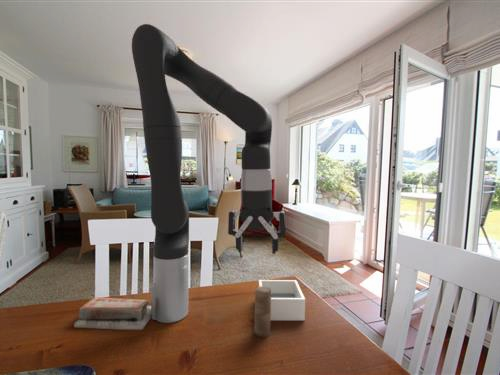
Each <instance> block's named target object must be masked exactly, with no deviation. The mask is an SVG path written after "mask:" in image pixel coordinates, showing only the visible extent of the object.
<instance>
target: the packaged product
mask: <svg viewBox="0 0 500 375" xmlns="http://www.w3.org/2000/svg"><path fill="white" fill-rule="evenodd" d="M149 302H150V301H149V300H147V299H132V298H109V297H94V298H91V299H90V300H89V301H88V302H86V303H85V304H84V305H83V306H81V307H80V308H79V311H78V314H79V316H78V319H77V320H75V322H74V325H73V326H74V328H79V329H80V328H82V329H83V328H86V329H100V330H101V329H103V330H141V331H142V330H143V329H145V327H146V325H147V324H148V323H149V321H150V320H151V305H149Z"/></svg>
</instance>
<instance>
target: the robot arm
mask: <svg viewBox="0 0 500 375" xmlns="http://www.w3.org/2000/svg"><path fill="white" fill-rule="evenodd" d="M131 52H132V59H133V63H134V69H135V72H136V77H137V78H136V79H137V83H138V90H139V97H140V105H141V106H140V107H141V113H142V124H143V125H142V126H143V136H144V137H143V138H144V139H143V140H144V146H145V151H146V152H145V153H146V160H147V165H148V171H149V177H150V190H151V191H150V196H151V197H150V198H151V199H150V202H151V203H150V218H151V222H152V224H153V225H154V227H155V235H154V242H153V248H152V249H153V282H152V283H151V286H150V294H151V295H150V299H151V300H150V302H151V304H150V306H151V318H150V320H155V321H157V322H159V323H165V324H172V323H177V322H179V321H181V320H183V319H184V318H186V316H188V314H189V246H190V244H189V243H190V242H189V240H190V209H189V205H188V203H187V201H186V200H185V199H184V193H183V188H182V180H181V174H182V173H181V171H182V162H183V161H182V160H183V138H182V129H181V128H182V127H181V120H180V117H179V114H178V111H177V108H176V106H175V104H174V101H173V100H172V97H171V95H170V92H169V90H168V86H167V81H166V76H167V77H169V78H172V79H174V80H176V81H177V82H179V83H181V84H183V85H185V86H186V87H187V88H188V89H189V90H191V92H192V93H194V94H195V95H196V96H197V97H198V98H200V99H201V100H202V101H203V102H205V103H206V105H208V106H210V107H211V108H213V109H214V110H215V111H217V112H219V113H220V114H222V115H224V116H226V118H228V119H229V120H230V121H231V122H232V123H233V124H235V125H236V126H237V127H239V128H240V130H241V129H242V130H243V131H244V132H245V134H244V135H245V136H244V137H245V138H244V146H243V148H242V149H241V174H240V176H241V177H240V196H241V198H240V199H241V200H240V201H241V202H240V204H241V210H240V211H237V210H235V209H231V211H229V212H228V221H227V223H228V224H227V226H228V227H227V228H228V229H227V234H228V235H229V236H233V237H235V249H236V250H237V251H238V253H242V252H243V248H244V246H243V241H244V240H243V237H244V236H243V235H242V234H243V233H244V232H245V230H246V229H247V228H249V229H250V230H255V229H257V230H264V229H265V230H266V231H267V232H268V233H269V234H270V235H271V237H272V240H271V241H272V242H271V243H272V245H271V246H272V248H271V249H272V250H271V253H272V255H273V254H274V255H276V253H277V252H278V251H279V244H280V243H279V239H280V238H284V237H285V236H286V235H287V234H286V233H287V227H286V214H285V213H286V212H285V211H284V210H281V211H273V206H272V205H273V195H272V192H273V191H272V190H273V188H272V187H273V182H272V174H271V173H272V172H271V171H272V170H271V142H272V141H271V140H272V135H273V134H272V133H273V132H272V130H273V120H272V116H271V113H270V112H269V111H268V110H267V108H266V107H265V106H264V105H262V104H261V103H260V102H258V101H257V100H255V99H253V97H250V96H248V95H247V94H245V93H243V92H241V91H240V90H239V89H238V88H236V87H235V86H234V85H232V84H231V83H229V82H228V81H226V80H225V79H223V78H222V77H221V76H219V75H217V74H215V73H214V72H213V71H210V70H208V69H206V68H205V67H202V66H201V65H199V64H198V63H196V62H195V61H194V60H193V59H191V58H190V57H189V56H188V55H187V54H186V53H185V52H184V51H183V50H182V49H181V48H180V47H179V46H178V45H177V44H176V43H175V41H174V40H173V39H172V38H170V36H168V35H167V34H166V33H165V32H164V31H162V30H161V29H159V28H158V27H156V26H154V25H152V24H149V23H142V24H140V25H139V26H137V28H136V29H135V30H134V32H133V35H132V38H131ZM239 217H240V219H241V221H242V222H243V223H242V225H241V226H240V228H239V229H236V220H237V219H238V218H239ZM273 218H275V219H276V221H278V222H279V231H277V229H276V228H275V226H274V224H273V223H272V222H271V221H272V220H273Z"/></svg>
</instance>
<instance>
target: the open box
mask: <svg viewBox="0 0 500 375" xmlns="http://www.w3.org/2000/svg"><path fill="white" fill-rule="evenodd" d="M262 286H263V287H268V288H270V289H271V321H305V318H306V297H305V295H304V294H303V292H302V289H301V287H300V285H299V283H298V281H297V280H296V279H258V287H262Z"/></svg>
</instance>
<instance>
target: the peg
mask: <svg viewBox="0 0 500 375" xmlns="http://www.w3.org/2000/svg"><path fill="white" fill-rule="evenodd" d="M271 321H272V320H271V289H270V288H268V287H263V286H262V287H259V286H258V287H256V288H255V292H254V327H253V328H254V331H253V332H254V335H255V336H257V337H260V338H266V337H269V336H270V334H271Z"/></svg>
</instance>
